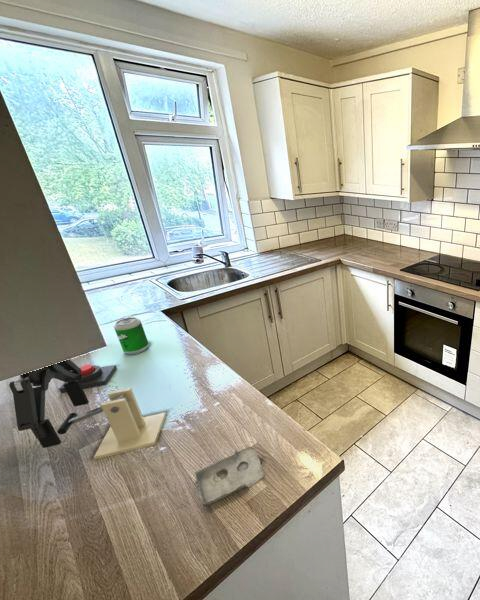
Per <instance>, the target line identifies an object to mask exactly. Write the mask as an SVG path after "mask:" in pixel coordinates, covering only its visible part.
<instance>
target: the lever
mask: <svg viewBox="0 0 480 600" xmlns="http://www.w3.org/2000/svg"><path fill="white" fill-rule="evenodd" d="M123 398H126V401H127V403H129V401H130V400H129V399H128V398H127V397H126V395H125V394H121V395H119V396H116V397H114V398H111V400H110V399H109V401H113V400H118V399H123ZM101 413H104V411H103V409H102V407H101V406H98V407H97V408H94V409H92V410H89V411H86V412H85V413H84V412H83V413H82V414H79V415H78V413H76V412H71V413H69V414H68V416H67V417H66V418H65V419H64V421H63V422H62V423H61V425H60V427H59V428H58V429H57V431H56V433H57V435H58V434H59V435H64V434H66V433H67V432H68V430H69V429H70V428H71V426H72V425H74V424H77V423H80V422H82V421H84V420H87V419H88V418H91V417H94V416H97V415H98V414H101Z"/></svg>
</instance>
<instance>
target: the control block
mask: <svg viewBox="0 0 480 600" xmlns="http://www.w3.org/2000/svg"><path fill="white" fill-rule="evenodd" d="M92 365H93V364H92ZM93 367H94V370H95V371H93V372H92V373H90V374H87V375H83V379H81V380H78V381H79V382H80V384H81V386H82V388H83V390H86V389H91V388H92V389H93V388H97V387H102V386H103V387H104V386H107V385H108V383H109V382H110V380H111V379H112V377H113V376H114V374H115V373H116V371H117V370H118V367H117V365H116V364H112V365H106V366H102V367H101V366H100V365H93ZM66 383H68V382H63V384H62V385H61V386H60V387H59V391H60V393H61V394H65V393H67V392H66V390H65V388H64V386H63V385H64V384H66Z"/></svg>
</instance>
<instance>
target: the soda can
mask: <svg viewBox="0 0 480 600" xmlns="http://www.w3.org/2000/svg"><path fill="white" fill-rule="evenodd" d="M113 329H114V332H115V333H116V336H117V338H118V341H119V344H120V346H121V349H122V352H123V353H125V354H127V355H137V354H140V353H143V352H145V351H146V350H147V349H148V347H149V345H150V342H149V341H148V338H147V335H146V332H145V330H144V326H143V324H142V321H141V319H140V318H137V317H134V316H133V317H132V316H131V317H125V318H122V319H119V320H117V321H116V322H115V324H114V326H113Z"/></svg>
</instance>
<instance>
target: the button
mask: <svg viewBox="0 0 480 600" xmlns="http://www.w3.org/2000/svg"><path fill="white" fill-rule="evenodd" d="M79 368H80V369H81V370H82V373H81V374H79V375H87V374H90V373H92V372H93V371H95V370H94V367H93V364H91V363H90V364H84V365H82V366H80V367H79Z"/></svg>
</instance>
